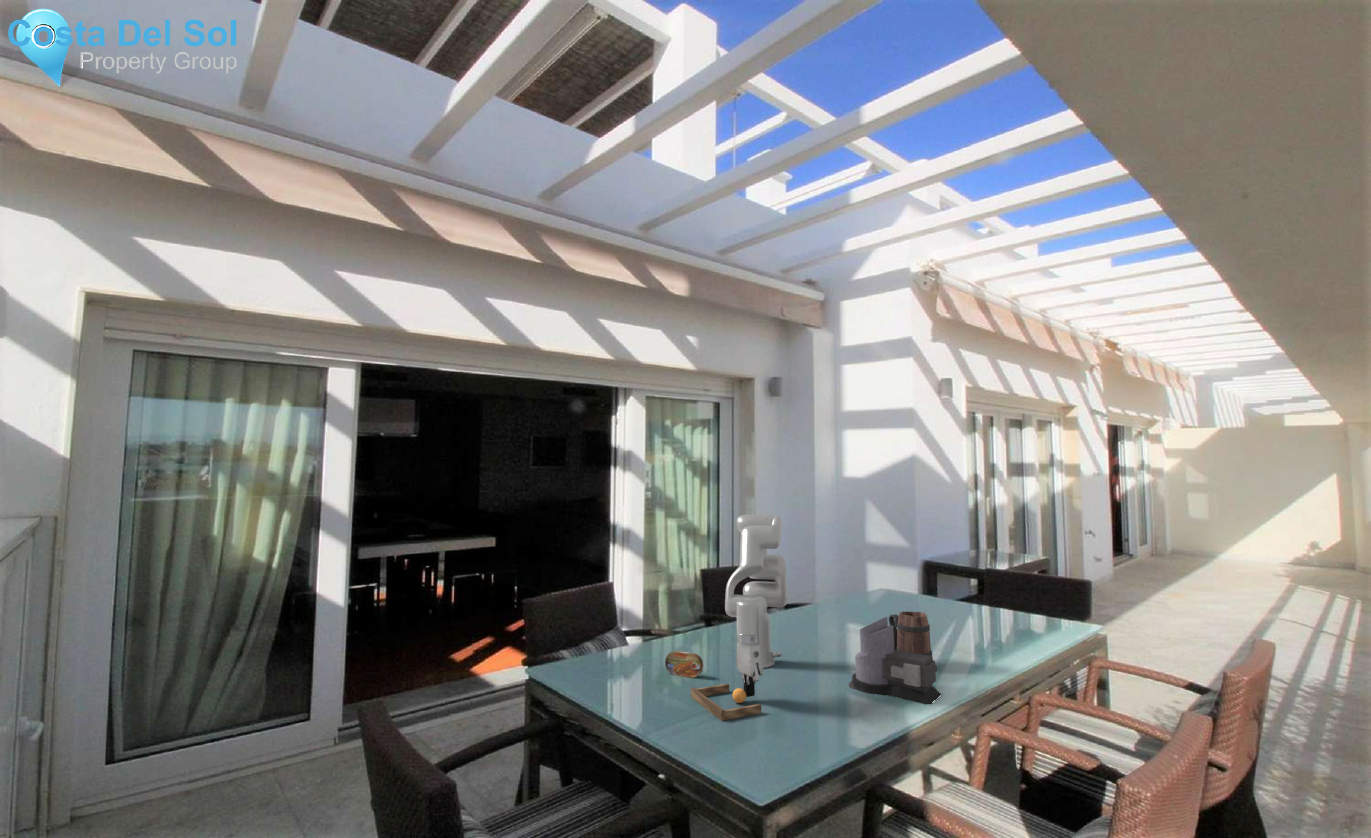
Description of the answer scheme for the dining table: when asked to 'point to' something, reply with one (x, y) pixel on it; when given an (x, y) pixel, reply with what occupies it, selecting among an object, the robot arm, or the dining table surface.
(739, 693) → the ball
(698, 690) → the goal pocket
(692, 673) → the tin
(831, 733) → the dining table surface
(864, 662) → the juicer
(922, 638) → the tankard
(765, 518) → the robot arm
